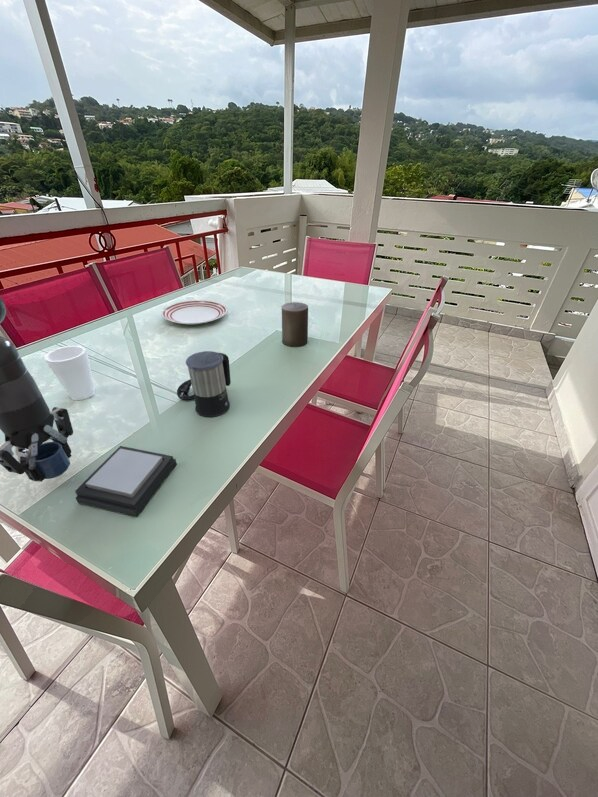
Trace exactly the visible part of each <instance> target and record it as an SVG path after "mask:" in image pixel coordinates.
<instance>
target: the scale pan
mask: <svg viewBox="0 0 598 797" xmlns="http://www.w3.org/2000/svg"><path fill="white" fill-rule="evenodd" d="M162 462H163V459H162V457H161V456H156V455H151V454H146V453H141V452H135V451H130V450H125V449H119V450H118V451H117V452H116V453H115V454H114V455H113V457H112V458H111V459H110V460H109V461H108V462H107V463H106V464H105V465H104V466H103V467H102V468H101V469H100V470H99V471H98V472H97V473H96V474H95V475H94V476H93V477H92V478H91V479H90V480H89V481H88V482H87V483H86V486H87V487H88V488H89V489H94V490H98V491H102V492H107V493H111V494H115V495H120V496H124V497H129V498H134V496H135V495H136V494H137V493H138V491H139V490H140V489H141V488H142V486H143V485H144V484H145V483H146V482H147V480H148V479H149V478H150V477H151V475H152V474H153V473H154V472H155V470H156V469H157V468H158V467H159V465H160V464H161V463H162Z"/></svg>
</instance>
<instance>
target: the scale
mask: <svg viewBox="0 0 598 797" xmlns="http://www.w3.org/2000/svg"><path fill="white" fill-rule="evenodd" d="M119 449H125V450H130V451H135V452H141V453H146V454H151V455H156V456H161V457H162V459H163V462H162V463H161V464H160V465H159V467H158V468H157V469H156V470H155V472H154V473H153V474H152V475H151V477H150V478H149V479H148V480H147V482H146V483H145V484H144V485H143V486H142V488H141V489H140V490H139V491H138V493H137V494H136V495H135V496H134V498H129V497H124V496H120V495H115V494H111V493H107V492H102V491H98V490H94V489H89V488H88V487H87V486H86V483H87V482H88V481H89V480H90V479H91V478H92V477H93V476H94V475H95V474H96V473H97V472H98V471H99V470H100V469H101V468H102V467H103V466H104V465H105V464H106V463H107V462H108V461H109V460H110V459H111V458H112V457H113V455H114V454H115V453H116V452H117V451H118V450H119ZM177 465H178V463H177V458H174V456H173V455H169V454H164V453H160V452H155V451H154V452H153V451H148V450H143V449H139V448H133V447H128V446H123V445H119V446H118V448H117V449H115V450H114V452H113V453H112V454H110V455H109V456H108V457H107V458H106V459H105V460H104V461H103V463H101V464H100V465H99V466H98V467H97V468H96V469H95V470H94V471H93V472H92V473H91V474H90V475H89V476H88V477H87V478H86V480H84V481H83V482H82V484H80V485H79V486H78V487H77V488H76V489H75V490H74V492H75V494H76V497H75V500H76V502H77V504H80V505H83V506H88V507H93V508H96V509H101V510H105V511H109V512H114V513H117V514H121V515H126V516H129V517H135V518H138V517H139V515H140V514H141V513H142V511H143V510H144V509H145V507H146V506H147V504H149V502H150V501H151V499H152V498H153V497H154V495H155V494H156V493H157V492H158V490H159V489H160V487H161V486H162V485H163V483H164V482H165V481H166V479H167V478H168V477H169V475H171V473H172V471H173V470H174V469H175V468H176V466H177Z"/></svg>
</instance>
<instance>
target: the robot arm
mask: <svg viewBox="0 0 598 797" xmlns="http://www.w3.org/2000/svg"><path fill="white" fill-rule="evenodd" d="M6 306H7V305H6V303H5V301H4V299H3V297H2V295H0V324H1V323H2V322H3V321H4V319H5V318H6V314H7V307H6ZM54 423H55V426H56V429H55V428H53V427H54ZM0 431H1V432H2V433H3V434H4V443H2V444H1V445H0V465H1V466H2V467H3V469H5V470H6V471H7V472H8V473H14V474H18V475H23V474H24V473H25V475H26V477H27V478H28V479H29V480H30V481H33V482H41V483H42V482H43V481H45V480H46V479H45V477H44V475H43V474H42V472H41V470H40V469H39V467H38V466H36V459H35V457H36V456H37V455H38V451H37V448H38V447H39V446H40V445H41V444H42V443H46V442H48V441H51V442H53V441H55V442H59V443H60V444H61V445H62V447H63V449H64V451H65V452H66V454H67V456H68V458H69V459H70V458H71V457H72V449H71V447H70V445H69V442H68V437H70V436H72V435H73V434H74V429H73V426H72V422H71V419H70V413H69V412H68V409H67V408H63V407H57V406H54V407H52V409H51V411H50V408H49V406H48V404H47V402H46V400H45V398H44V396H43V394H42V392H41V390H40V389H39V386H38V384H37V383H36V380H35V379H34V377H33V375H32V374H31V373H30V372H29V370H28V368H27V367H26V365H25V363H24V361H23V359H22V356H21V355H20V353H19V351H18V349H17V347H16V346H15V344H14V343H13V342H12V341H11V340H9V339H8V338H6V337H5V336H1V335H0ZM13 447H14V448H15V453H14V452H13V449H12V448H13ZM14 455H16V456H17V459H16V457H14Z"/></svg>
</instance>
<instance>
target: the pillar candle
mask: <svg viewBox="0 0 598 797" xmlns="http://www.w3.org/2000/svg"><path fill="white" fill-rule="evenodd" d="M280 307H281V340H282V341H281V343H282V344H283V345H284V346H287V347H291V348H299V347H303V346H306V345H307V344H308V340H309V339H308V337H309V305H308V304H307V303H303V302H300V301H293V302H292V301H291V302H287V303H284V304H282V305H281V306H280Z"/></svg>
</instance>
